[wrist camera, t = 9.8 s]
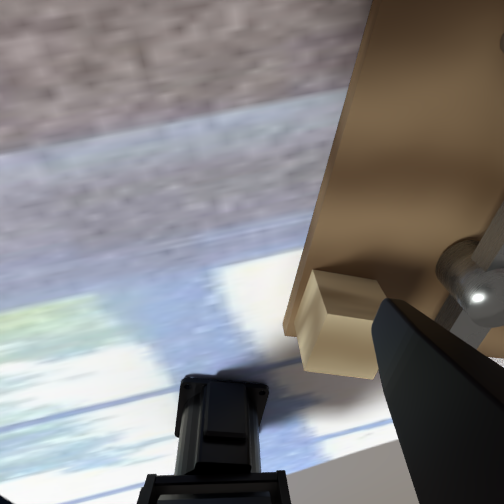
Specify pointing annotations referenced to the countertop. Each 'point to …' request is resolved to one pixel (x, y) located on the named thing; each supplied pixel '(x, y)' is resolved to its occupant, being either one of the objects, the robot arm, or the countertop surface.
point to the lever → (474, 284)
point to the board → (413, 153)
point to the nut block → (338, 324)
